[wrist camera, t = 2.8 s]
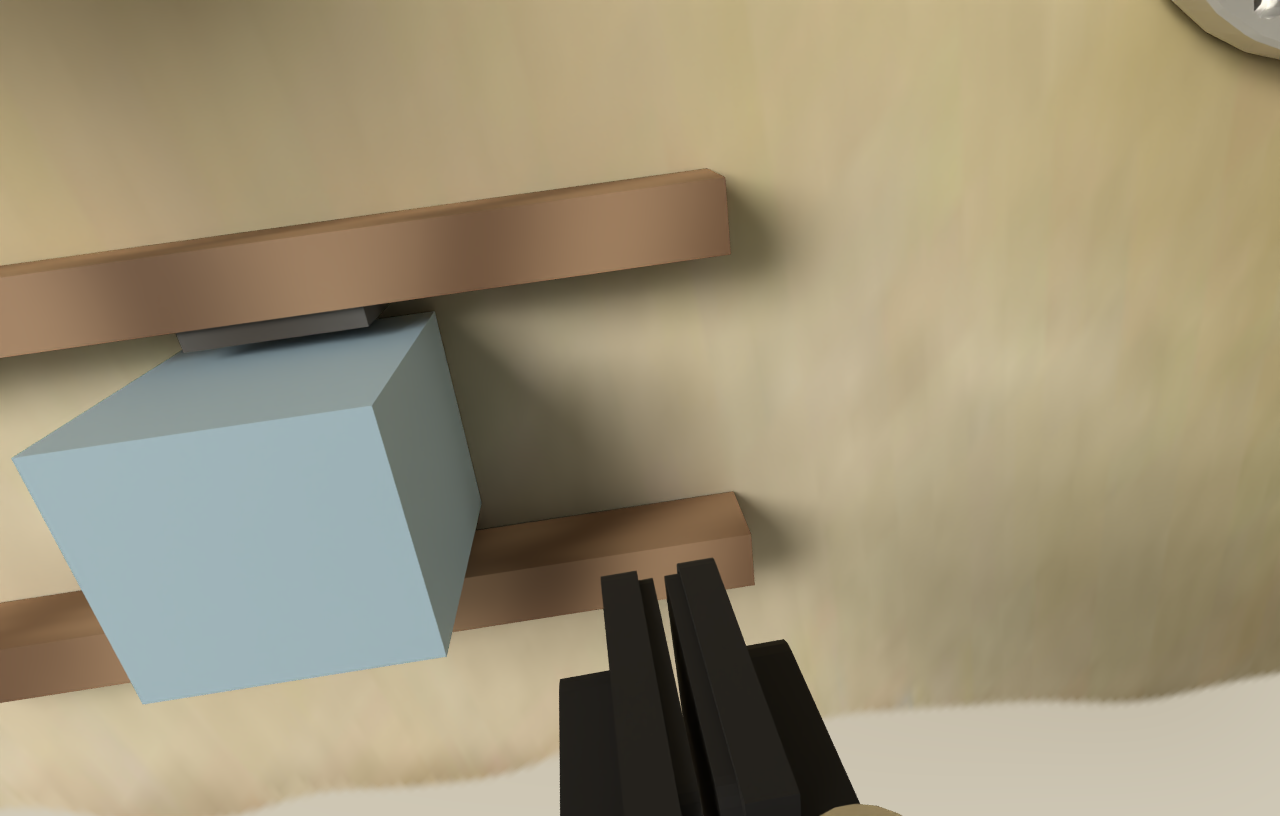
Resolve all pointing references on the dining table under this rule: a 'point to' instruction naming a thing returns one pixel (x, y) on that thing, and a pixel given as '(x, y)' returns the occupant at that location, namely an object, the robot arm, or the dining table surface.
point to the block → (268, 509)
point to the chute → (353, 298)
